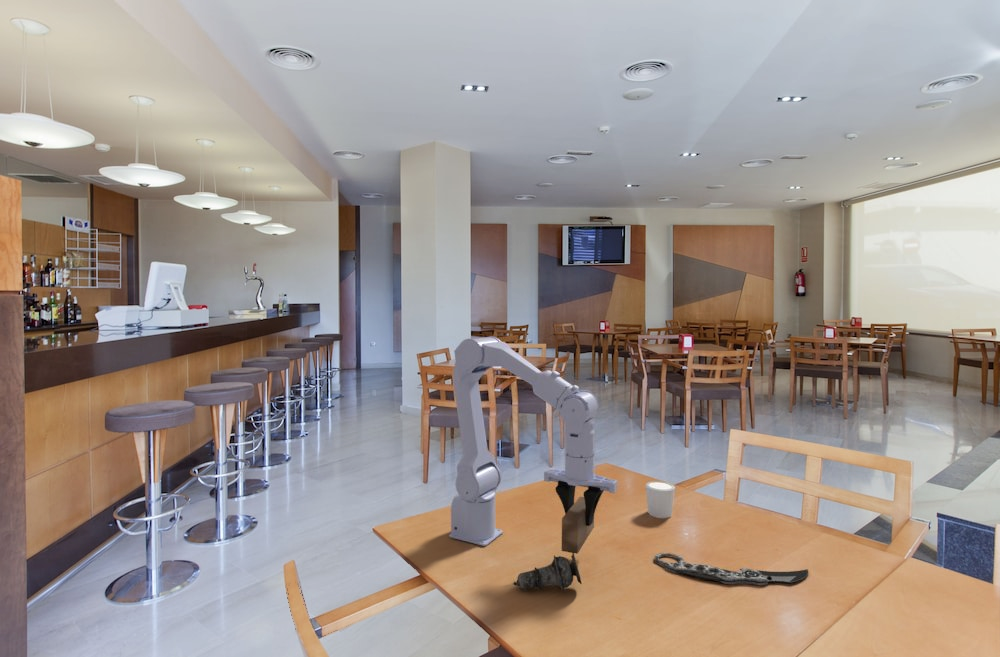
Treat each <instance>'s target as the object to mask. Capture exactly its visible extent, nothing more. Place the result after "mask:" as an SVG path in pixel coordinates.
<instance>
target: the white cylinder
mask: <svg viewBox="0 0 1000 657" xmlns="http://www.w3.org/2000/svg"><path fill="white" fill-rule="evenodd" d="M675 490H676V487H675V485H674V484H672V483H670V482H666V481H658V480H657V481H656V480H655V481H648V482H646V483H645V494H646V505H647V513H649V514H650V515H649V514H648V515H649V516H651V517H652V518H657V519H669V518H671V517H672V516H673V508H674V499H675Z"/></svg>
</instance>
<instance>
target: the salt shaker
mask: <svg viewBox="0 0 1000 657" xmlns="http://www.w3.org/2000/svg"><path fill="white" fill-rule="evenodd" d="M571 554H572V555H571V556H570V557H571V562H570V561H569V560H568V558H566V557H564V556H556V555H553V560H552V562H551V563H550V564H549V565H546V566H543V567H538V568H537V567H534V568H533V569H532V570H529V571H524V572H521V573H518V575H517V578H516V579H517V580H516V581H513V582H512V585H513V586H517V587H518V588H519V589H520V590H522V591H528V590H531V589H536V588H538V589H539V590H541V589H542V587H545V586H549V585H551V586H552V585H557V586H558V587H559V588H560V589H561V591H564V589H567V588H569V587H570V586H571V585H572V583H573V582H574V577H576V580H577V583H579V584H580V585H582V580H581V576H580V571H579V568H578V567H579V566H578V563H577V560H576V556H575V553H571Z"/></svg>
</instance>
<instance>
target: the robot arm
mask: <svg viewBox="0 0 1000 657" xmlns="http://www.w3.org/2000/svg"><path fill="white" fill-rule="evenodd" d="M453 351H454V358H455V359H454V360H455V362H454V368H453V371H452V382H453V383H452V384H453V388H454V389H453V390H454V397H455V403H456V404H455V405H456V409H457V410H456V411H457V419H458V426H459V432H460V440H461V448H462V456H461V458H460V460H459V461H458V463H457V465H456V472H457V473H456V474H457V475H456V478H455V489H456V492H457V493H456V495H455V496H454V497H453V499H452V502H451V506H450V528H451V529H450V533H449V534H448V536H449V538H451V539H456V540H459V541H463V542H467V543H471V544H475V545H479V546H482V547H486V546H487V545H489V544H490V543H491V542H493V541H494V540H495V539H497V538H498V537H500V535H501V534H503V533H504V531H503V529H499V528H496V493H497V488H498V487H499V485H500V484H501V482H502V474H501V470H500V468H499V466H498V464H497V462H496V456H494V455H493V453H492V452H490V451H489V449H488V442H487V434H486V427H485V421H484V413H483V408H482V405H483V404H482V398H481V393H480V392H481V391H480V384H479V381H480V379H481V378H482V377H483V376H484V374H485V373H486V372H487V370H489V369H492V367H501V368H503V369H505V370H506V371H508V372H510V373H511V374H513V375H515V376H516V377H518V378H519V379H521V380H523V381H524V382H526V383H528V384H530V385H531V387H532V390H533V395H535V396H537V397H538V398H540V399H541V400H542V401H544V402H545V403H547V404H548V405H550V406H551V407H552V408H554V409H555V410H556V411H558V412H559V414H560V417H561V418H562V421H563V422H564V428H565V429H564V470H563V469H562V470H561V469H559V470H558V469H549V468H548V469H546V470H545V471H543V482H548V483H549V482H555V483H557V486H555V492H556V495H557V496H558V497H559V500H560V501H561V504H562V508H563V509H564V510H563V511H564V513H565V514H566V513H567V512H568V511H569V509H570V508H571V507H572V506H573V504H574V503H575V494H576V493H575V492H576V487H583V488H587V489H586V490H585V491H584V492H583V497H584V499H585V507H586V516H585V519H586V526H590V525H591V524H592V523H593V517H594V518H595V513H596V509H597V506H598V503H599V501H600V499H601V496H602V495H603V493H604V491H605V492H606V491H607V492H609V493H611V494H615V493H616V492H617V491H618V480H616V479H611V478H608V477H605V476H602V475H598V474H595V452H596V449H595V448H596V446H595V441H596V440H595V438H596V437H595V433H596V432H595V417H596V416H597V415H598V413H599V410H600V403H599V400H598V398H597V396H596V395H595V394H594V393H592V391H590V390H587V389H581V390H579V389H580V386H578V385H576V384H574V385H573V384H571V383H569V382H568V381H567V380H566V379H564V378H562V377H561V373H560V372H558V371H557V370H553V371H552V370H549V369H547V370H544V371H541V370H540V369H539V368H537V367H536V366H535V365H533V364H532V363H531V362H530V361H528V360H527V359H526V358H524V357H522V356H521V355H520V354H518V353H517V352H516V350H513V349H512V348H511V347H510V346H509V345H508V344H507V343H506V342H505V341H501V340H500V339H499V338H498V337H495V336H492V335H491V336H490V335H489V336H486V337H480V338H465V339H463V340H462V341H461V342H460V343H459V345H457V347H456V348H455V349H454V350H453ZM565 514H564V515H565Z"/></svg>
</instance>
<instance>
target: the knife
mask: <svg viewBox="0 0 1000 657" xmlns="http://www.w3.org/2000/svg"><path fill="white" fill-rule="evenodd" d="M662 557H672V558H674V559H675V560H677V562H668V561H664V560H662ZM653 559H654V563H656V564H657V565H660V566H661V567H663V569H665V570H667V571H668V572H672V573H673V574H681V575H682V574H683V575H686V576H690V577H694V578H698V579H704V580H711V581H716V582H719V583H722V584H724V585H738V584H739V585H740V584H741V585H743V584H747V585H755V586H766V585H768V584H769V583H772V582H781V583H782V582H783V583H791V584H792V583H795V582H798V581H801V580H804V579H805V578H806V577H807V576H808V575H809V569H808V568H807V569H801V570H793V571H792V570H791V571H790V570H789V571H769V570H768V571H767V570H758V569H752V568H743V567H739V570H736V571H735V570H728V569H723V568H721V567H717V566H712V565H707V564H697V563H696V564H694V563H689V562H686V561H685V559H684V558H683V557H682V556H681V555H679V554H675V553H670V552H662V553H661V552H660V553H656V554H655V555H654V557H653Z"/></svg>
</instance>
